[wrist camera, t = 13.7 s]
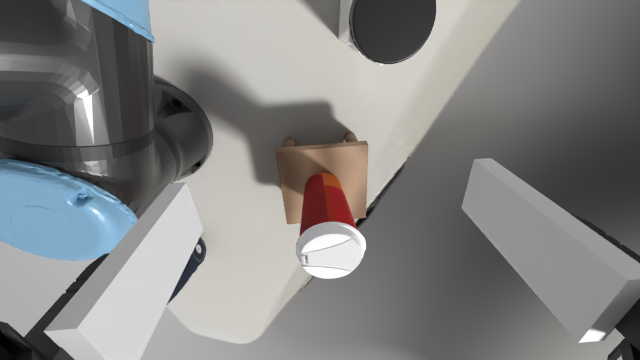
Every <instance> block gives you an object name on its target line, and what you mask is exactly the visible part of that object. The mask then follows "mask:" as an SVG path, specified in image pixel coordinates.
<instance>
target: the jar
mask: <svg viewBox="0 0 640 360" xmlns="http://www.w3.org/2000/svg"><path fill="white" fill-rule="evenodd" d="M435 16H436V0H340V16H339V35H338V38H339V40H340V41H342V42H343V43H345V44H346V45H347V46H349V47H350V48H351V49H352V50H353V51H355V52H356V53H358V54H359V55H361V56H362V57H364V58H367V59H369V60H370V61H372V62H374V63H376V64H378V65H383V64H395V63H399V62H402V61H404V60H406V59H408V58H410V57H411V56H413V55H414V54H415V53H416V52H417V51H418V50H419V49H420V48H421V47H422V46H423V45H424V43H425V42H426V40H427V39H428V37H429V35H430V33H431V31H432V28H433V25H434V21H435Z"/></svg>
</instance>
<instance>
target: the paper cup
mask: <svg viewBox="0 0 640 360" xmlns="http://www.w3.org/2000/svg"><path fill="white" fill-rule="evenodd" d="M365 249H366V242H365V238H364V237H363V236H362V235H361V234H360V232H359V231H358V230H357V228H356V225H355V222H354V219H353V216H352V213H351V210H350V208H349V205H348V202H347V199H346V196H345V194H344V191H343V188H342V186H341V183H340V181H339V180H338V178H337V177H335V176H334V175H332V174H330V173H324V172H323V173H317V174H315V175H313V176H311V177H310V178H309V179H308V180H307V182H306V185H305V189H304V197H303V206H302V217H301V227H300V237H299V239H298V241H297V243H296V255H297V257H298V259H299V261H300V262H301V263H302V266H303V268H304V269H305V270H306V271H307V272H308V273H310V274H311V275H314V276H316V277H319V278H327V279H329V278H338V277H342V276H345V275H347V274H349V273H350V272H352V271H353V270H354V269H355V268H356V267H357V266H358V265H359V263H360V261H361V259H362V258H363V255H364V251H365Z"/></svg>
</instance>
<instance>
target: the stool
mask: <svg viewBox="0 0 640 360" xmlns="http://www.w3.org/2000/svg"><path fill="white" fill-rule="evenodd" d="M345 141H346V142H344V143H332V144H319V145H306V146H295V140H294V138H292V137H288V138H286V139H285V141H284V147H281V148H276V157H277V163H278V170H279V176H280V182H281V188H282V194H283V201H284V207H285V213H286V219H287V224H296V223H301V217H302V206H303V197H304V189H305V185H306V182H307V180H308V179H309V178H310V177H311V176H313V175H315V174H317V173H323V172H324V173H330V174H332V175H334V176H335V177H337V178H338V180H339V181H340V183H341V186H342V188H343V191H344V194H345V196H346V199H347V202H348V205H349V208H350V210H351V213H352V216H353V219H356V218H366V195H367V165H368V144H367V142H366V141H358V140H357V138H356V136H355V134H354V133H352V132H349V133H347V134H346V135H345Z"/></svg>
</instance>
